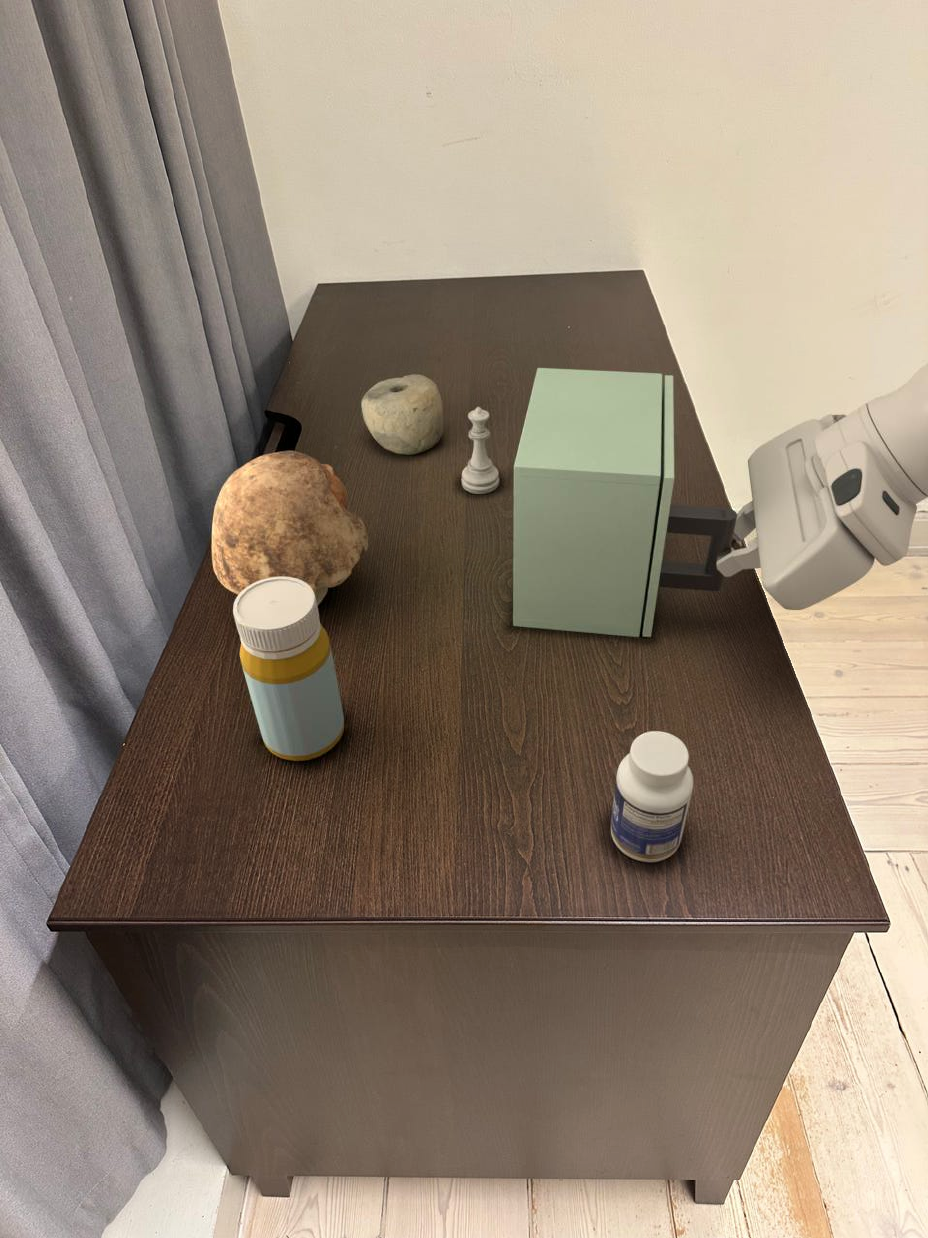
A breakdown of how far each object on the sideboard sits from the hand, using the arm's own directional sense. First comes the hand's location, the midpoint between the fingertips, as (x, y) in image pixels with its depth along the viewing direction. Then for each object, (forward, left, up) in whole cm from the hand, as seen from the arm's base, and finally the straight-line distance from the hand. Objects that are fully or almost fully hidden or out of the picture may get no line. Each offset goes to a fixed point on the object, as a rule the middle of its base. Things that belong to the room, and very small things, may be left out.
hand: (719, 556), depth 79 cm
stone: (+36, -31, -9) cm, 48 cm away
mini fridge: (+12, -7, -8) cm, 16 cm away
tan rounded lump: (+40, 0, -9) cm, 41 cm away
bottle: (+34, +18, -9) cm, 40 cm away
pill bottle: (+5, +24, -9) cm, 26 cm away
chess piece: (+25, -22, -9) cm, 34 cm away
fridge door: (+3, -7, -8) cm, 11 cm away
